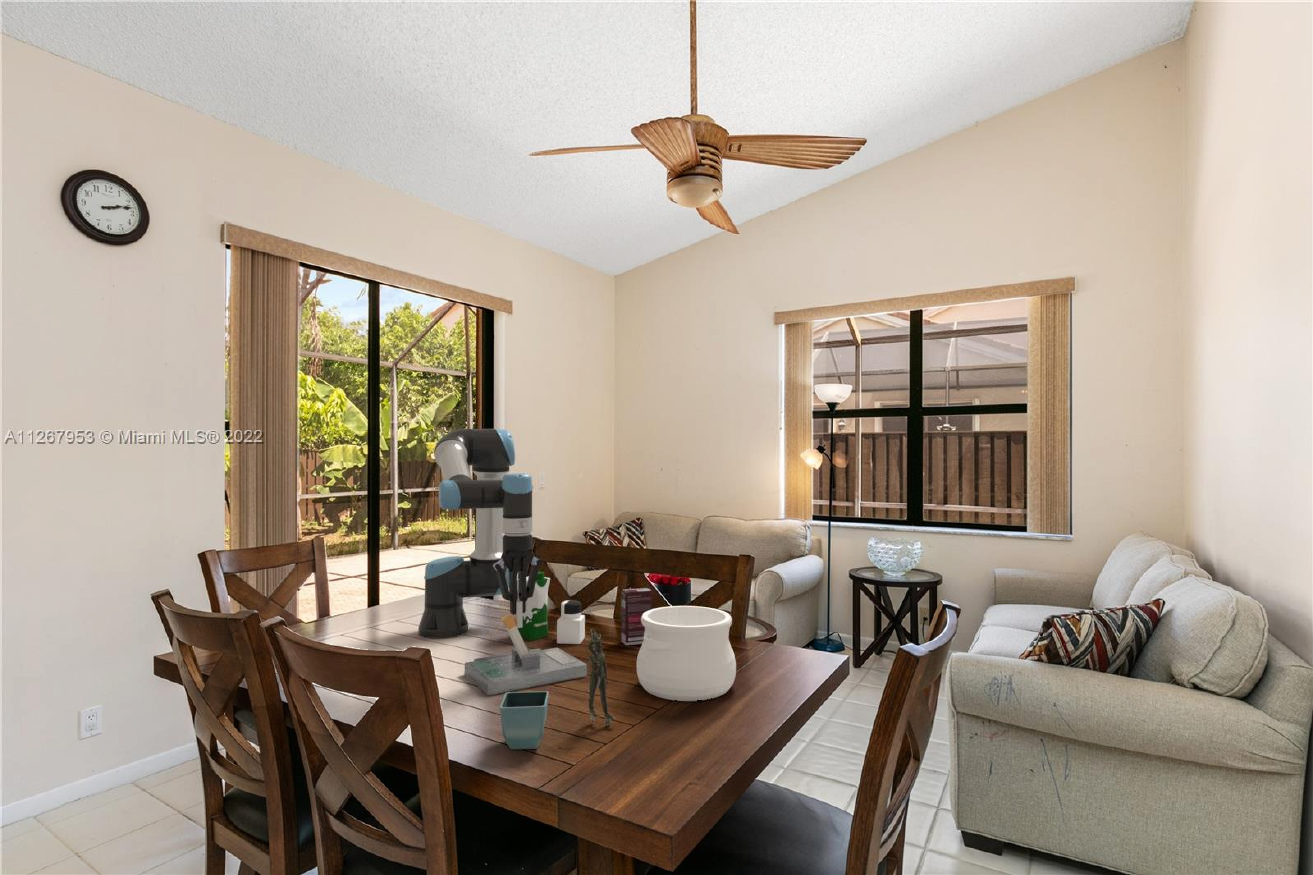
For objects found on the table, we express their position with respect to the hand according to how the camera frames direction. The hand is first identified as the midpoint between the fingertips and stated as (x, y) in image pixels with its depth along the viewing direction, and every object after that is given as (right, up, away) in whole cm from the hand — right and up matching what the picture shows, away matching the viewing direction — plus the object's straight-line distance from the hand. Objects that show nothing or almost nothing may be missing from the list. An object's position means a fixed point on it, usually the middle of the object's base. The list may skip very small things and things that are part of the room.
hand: (517, 626), depth 177 cm
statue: (+24, -13, -31) cm, 41 cm away
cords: (-4, -13, +10) cm, 17 cm away
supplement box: (+29, -14, +32) cm, 46 cm away
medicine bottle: (+9, -14, +33) cm, 37 cm away
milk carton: (-3, -14, +38) cm, 41 cm away
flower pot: (+9, -12, -40) cm, 43 cm away
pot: (+43, -13, -7) cm, 45 cm away
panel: (+2, -13, +1) cm, 13 cm away
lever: (+2, -8, +1) cm, 9 cm away
